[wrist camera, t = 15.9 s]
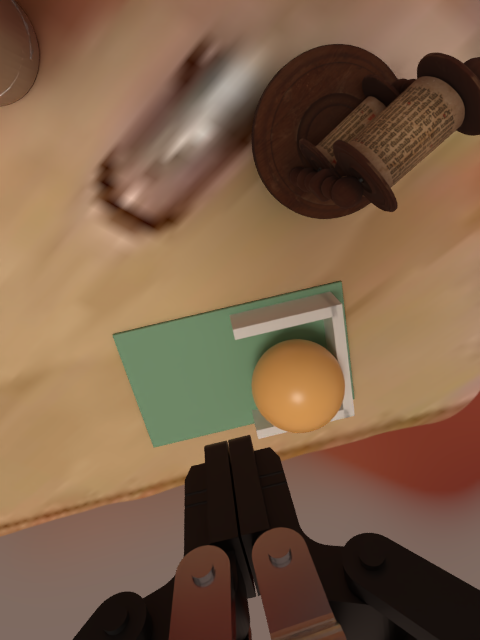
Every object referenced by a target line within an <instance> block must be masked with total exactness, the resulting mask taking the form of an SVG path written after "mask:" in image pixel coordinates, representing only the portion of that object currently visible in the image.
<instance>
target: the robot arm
mask: <svg viewBox="0 0 480 640" xmlns="http://www.w3.org/2000/svg"><path fill="white" fill-rule="evenodd" d="M38 66H39V47H38V43H37V39H36V35H35V32H34V29H33V27H32V25H31V23H30V20H29V19H28V17H27V16H26V14H25V13H24V11H23V9H22V8H21V7H20V6H19V5H18V3H17V2H16V1H15V0H0V106H4V105H9V104H11V103H13V102H15V101H17V100H19V99H20V98H22V97H23V96H24V95H25V94H26V93H27V92H28V91H29V89H30V88H31V86H32V85H33V83H34V81H35V78H36V75H37V73H38ZM228 443H229V446H228ZM228 443H227V441H223V442H219V443H215V444H211V445H206V446H205V447H204V451H205V463H203V464H199V465H195V466H191V468H190V470H189V473H188V475H187V477H186V479H185V519H184V523H185V524H184V558H183V559H182V560H181V562H180V563H179V565H178V567H177V570H176V574H175V576H174V577H173V578H172V579H171V580H170V581H169V582H168V583H167V584H166V585H164V586H163V587H161V588H160V589H158V590H156V591H155V592H153V593H152V594H150V595H148V596H146V597H145V598H143V599H142V597H141V596H139V595H138V594H136V593H134V592H121V593H118V594H115V595H113V596H112V597H110V598H108V599H107V600H106V601H104V602H103V603H102V604H101V605H100V606H99V607H98V608H97V610H96V611H95V612H94V613H93V615H92V616H91V617H90V618H89V620H88V621H87V622H86V624H85V625H84V626H83V627H82V628H81V630H80V631H79V632H78V634H77V635H76V636H75V637H74V639H73V640H252V633H251V627H250V616H249V608H248V600H247V599H248V598H252V597H256V593H255V586H254V582H255V585H256V589H257V592H258V596H259V595H261V599H262V603H263V607H264V611H265V615H266V619H267V623H268V628H269V632H270V636H271V640H480V590H478V589H477V588H474V587H473V586H471V585H469V584H468V583H466V582H464V581H462V580H461V579H459V578H457V577H455V576H454V575H452V574H450V573H448V572H447V571H445V570H443V569H441V568H440V567H438V566H436V565H434V564H432V563H430V562H429V561H427V560H425V559H424V558H422V557H420V556H418V555H417V554H415V553H413V552H411V551H409V550H408V549H406V548H404V547H402V546H401V545H399V544H397V543H395V542H394V541H392V540H390V539H388V538H386V537H384V536H382V535H379V534H374V533H363V534H359V535H356V536H354V537H353V538H351V539H350V540H349V541H348V542H347V543H346V545H345V546H344V547H343V546H329V545H323V544H319V543H317V542H315V541H313V540H312V539H310V538H309V537H307V536H306V535H305V534H304V532H303V531H302V529H301V528H300V525H299V522H298V519H297V515H296V512H295V508H294V505H293V502H292V498H291V495H290V491H289V488H288V485H287V481H286V478H285V474H284V471H283V468H282V464H281V460H280V457H279V456H278V455H277V454H276V453H275V452H274V451H273V450H272V449H271V448H270V447H269V448H265V449H260V450H256V451H254V449H253V444H252V440H251V436H250V435H247V436H243V437H239V438H235V439H231V440H228ZM253 579H254V580H253Z"/></svg>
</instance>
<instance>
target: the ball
mask: <svg viewBox="0 0 480 640" xmlns="http://www.w3.org/2000/svg"><path fill="white" fill-rule="evenodd" d="M251 387H252V395H253V399H254V402H255V404H256V406H257V408H258V410H259V412H260V413H261V414H262V416H263V417H264V418H265V419H266V420H267V421H268V422H269V423H271V424H272V425H274V426H275V427H277V428H279V429H281V430H284V431H287V432H292V433H306V432H311V431H314V430H317V429H319V428H321V427H323V426H324V425H326V424H327V423H329V422H330V421H331V420H332V419H333V418H334V416H335V415H336V414H337V412H338V411H339V409H340V407H341V405H342V402H343V399H344V395H345V380H344V375H343V372H342V369H341V367H340V365H339V363H338V361H337V360H336V359H335V357H334V356H333V355H332V354H331V353H330V352H329V351H328V350H327V349H326V348H324V347H323V346H321V345H319V344H317V343H315V342H312V341H308V340H303V339H292V340H286V341H283V342H280V343H278V344H276V345H274V346H272V347H271V348H269V349H268V350H267V351H266V352H265V353H264V354H263V355H262V356H261V358H260V359H259V361H258V362H257V364H256V366H255V369H254V371H253V375H252V383H251Z"/></svg>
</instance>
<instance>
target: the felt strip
mask: <svg viewBox="0 0 480 640" xmlns="http://www.w3.org/2000/svg"><path fill="white" fill-rule="evenodd" d="M325 292H331V293H332V294H333V295H334V296H335V297H336V298H337V299H338V300H339V301H340V302H341V303H342V308H343V317H344V325H345V334H346V343H347V352H348V361H349V370H350V379H351V388H352V397H353V399H354V391H353V382H352V373H351V364H350V355H349V345H348V336H347V327H346V318H345V309H344V300H343V291H342V282H341V281H337V282H333V283H329V284H325V285H320V286H316V287H312V288H308V289H303V290H299V291H295V292H290V293H286V294H282V295H278V296H273V297H269V298H265V299H261V300H256V301H252V302H248V303H244V304H239V305H235V306H231V307H226V308H222V309H218V310H214V311H209V312H205V313H201V314H197V315H192V316H188V317H184V318H180V319H175V320H171V321H167V322H162V323H158V324H154V325H150V326H145V327H141V328H137V329H133V330H128V331H124V332H120V333H116V334H113V338H114V341H115V344H116V346H117V349H118V352H119V354H120V357H121V360H122V363H123V365H124V368H125V371H126V373H127V376H128V379H129V382H130V384H131V387H132V390H133V392H134V395H135V398H136V401H137V403H138V406H139V409H140V411H141V414H142V417H143V420H144V422H145V425H146V428H147V430H148V433H149V436H150V439H151V441H152V444H153V447H158V446H162V445H167V444H171V443H175V442H179V441H183V440H187V439H191V438H196V437H200V436H204V435H208V434H212V433H216V432H221V431H225V430H229V429H233V428H237V427H241V426H245V425H250V424H254V423H255V422H254V418H253V414H252V410H256V409H258V408H257V406H256V404H255V402H254V399H253V395H252V387H251V383H252V375H253V371H254V369H255V366H256V364H257V362H258V361H259V359H260V358H261V356H262V355H263V354H264V353H265V352H266V351H267V350H268V349H269V348H271V347H272V346H274V345H276V344H278V343H280V342H283V341H286V340H292V339H303V340H308V341H312V342H315V343H317V344H319V345H321V346H323V347H324V348H326V349H327V344H326V337H325V329H324V322H323V319H322V320H318V321H314V322H309V323H305V324H301V325H297V326H292V327H288V328H284V329H280V330H275V331H271V332H267V333H263V334H259V335H254V336H250V337H246V338H242V339H237V340H235V337H234V333H233V329H232V324H231V320H230V316H229V315H232V314H236V313H240V312H244V311H249V310H253V309H257V308H262V307H266V306H270V305H274V304H279V303H283V302H287V301H291V300H296V299H300V298H304V297H308V296H313V295H317V294H321V293H325Z"/></svg>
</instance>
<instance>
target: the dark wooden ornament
mask: <svg viewBox="0 0 480 640" xmlns="http://www.w3.org/2000/svg"><path fill="white" fill-rule="evenodd" d="M456 130H457V131H458V132H461V133H463V134H466V135H480V57H477V58H471V59H469V60H468V61H466V62H465V63H462V62H461V61H459V60H457V59H456V58H454V57H452V56H449V55H446V54H442V53H430V54H427V55H426V56H424V57H423V58H422V59H421V61H420V62H419V64H418V68H417V79H410V80H406V79H399V80H398V79H397V78H396V76H395V75H394V73H393V72H392V71H391V69H390V68H389V67H388V66H387V65H386V64H385V63H384V62H383V61H382V60H381V59H379V58H378V57H377V56H375V55H374V54H372V53H370V52H368V51H366V50H364V49H361V48H359V47H355V46H351V45H344V44H332V45H325V46H320V47H317V48H314V49H311V50H309V51H306V52H304V53H302V54H301V55H299V56H297V57H296V58H294V59H293V60H292V61H290V62H289V63H288V64H286V65H285V66H284V67H283V68H282V69H281V70H280V71H279V72H278V73H277V74H276V75H275V76H274V77H273V79H272V80H271V81H270V83H269V84H268V86H267V87H266V89H265V91H264V92H263V94H262V97H261V99H260V101H259V103H258V106H257V109H256V112H255V116H254V121H253V127H252V151H253V157H254V161H255V165H256V168H257V171H258V173H259V176H260V178H261V180H262V182H263V183H264V185H265V186H266V188H267V189H268V191H269V192H270V193H271V194H272V195H273V196H274V197H275V199H277V200H278V201H279V202H280V203H281V204H283V205H284V206H286V207H287V208H289V209H290V210H292V211H294V212H296V213H298V214H301V215H304V216H307V217H311V218H318V219H331V218H338V217H342V216H346V215H349V214H352V213H354V212H356V211H358V210H360V209H362V208H364V207H365V206H367V205H368V204H370V203H373V204H374V205H375V206H377V207H378V208H380V209H382V210H384V211H389V212H393V211H395V210H396V209H397V201H396V198H395V196H394V194H393V192H392V190H391V187H392V186H393V185H394V184H395V183H396V182H398V181H399V180H400V179H401V178H402V177H403V176H404V175H406V174H407V173H408V172H409V171H410V170H411V169H412V168H414V167H415V166H416V165H417V164H418V163H419V162H420V161H421V160H423V159H424V158H425V157H426V156H427V155H428V154H429V153H431V152H432V151H433V150H434V149H435V148H436V147H437V146H439V145H440V144H441V143H442V142H443V141H444V140H445V139H447V138H448V137H449V136H450V135H451V134H452V133H453V132H454V131H456Z"/></svg>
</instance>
